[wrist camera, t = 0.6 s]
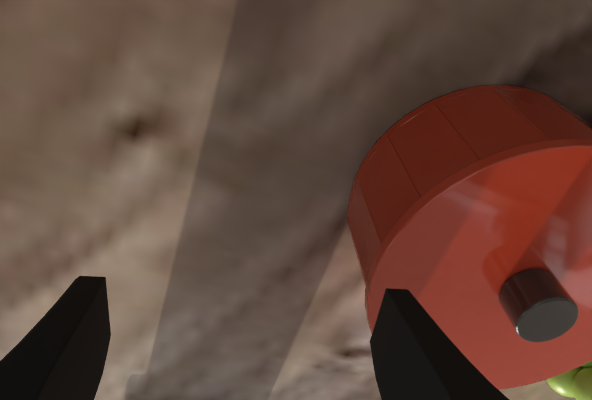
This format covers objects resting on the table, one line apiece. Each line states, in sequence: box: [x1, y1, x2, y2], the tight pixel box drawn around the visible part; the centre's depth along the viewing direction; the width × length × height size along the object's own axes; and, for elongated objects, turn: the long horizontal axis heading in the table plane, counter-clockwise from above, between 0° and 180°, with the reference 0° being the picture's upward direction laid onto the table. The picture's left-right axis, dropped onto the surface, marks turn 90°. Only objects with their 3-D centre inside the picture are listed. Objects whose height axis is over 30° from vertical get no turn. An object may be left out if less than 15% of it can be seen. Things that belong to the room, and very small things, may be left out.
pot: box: [348, 85, 592, 287], centre depth 22 cm, size 11×11×6 cm
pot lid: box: [365, 139, 592, 389], centre depth 19 cm, size 12×12×3 cm
